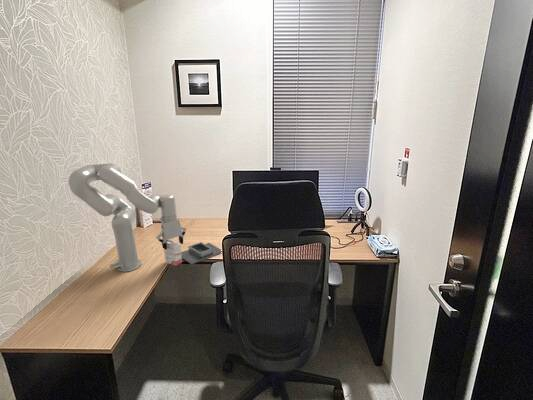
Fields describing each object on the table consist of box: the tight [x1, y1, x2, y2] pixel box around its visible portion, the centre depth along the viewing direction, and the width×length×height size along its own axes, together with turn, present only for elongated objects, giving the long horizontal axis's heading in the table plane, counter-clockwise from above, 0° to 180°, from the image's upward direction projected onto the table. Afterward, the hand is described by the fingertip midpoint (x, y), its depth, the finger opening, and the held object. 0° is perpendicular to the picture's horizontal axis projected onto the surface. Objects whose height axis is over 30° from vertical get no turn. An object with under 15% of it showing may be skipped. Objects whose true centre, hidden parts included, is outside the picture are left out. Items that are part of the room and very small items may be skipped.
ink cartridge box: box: [163, 239, 183, 267], centre depth 169 cm, size 9×5×15 cm, turn 62°
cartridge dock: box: [181, 241, 222, 265], centre depth 181 cm, size 22×16×4 cm
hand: (173, 246), depth 168 cm, fingers open, 9 cm apart
